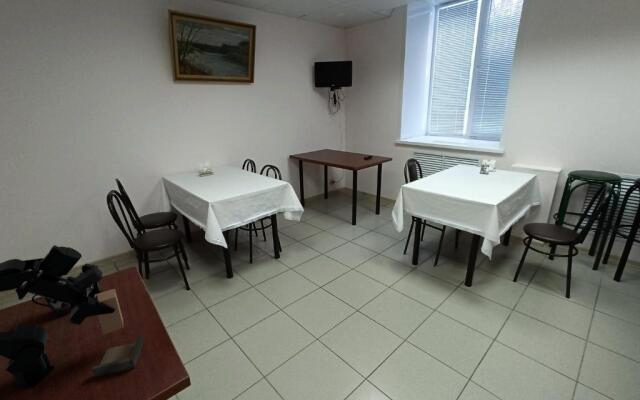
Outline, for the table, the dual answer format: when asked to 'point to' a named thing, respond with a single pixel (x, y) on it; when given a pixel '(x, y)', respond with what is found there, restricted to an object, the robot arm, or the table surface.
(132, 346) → the grey shallow square piece
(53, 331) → the table surface
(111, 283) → the table surface
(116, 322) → the tan block
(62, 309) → the black angular block
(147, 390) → the table surface
